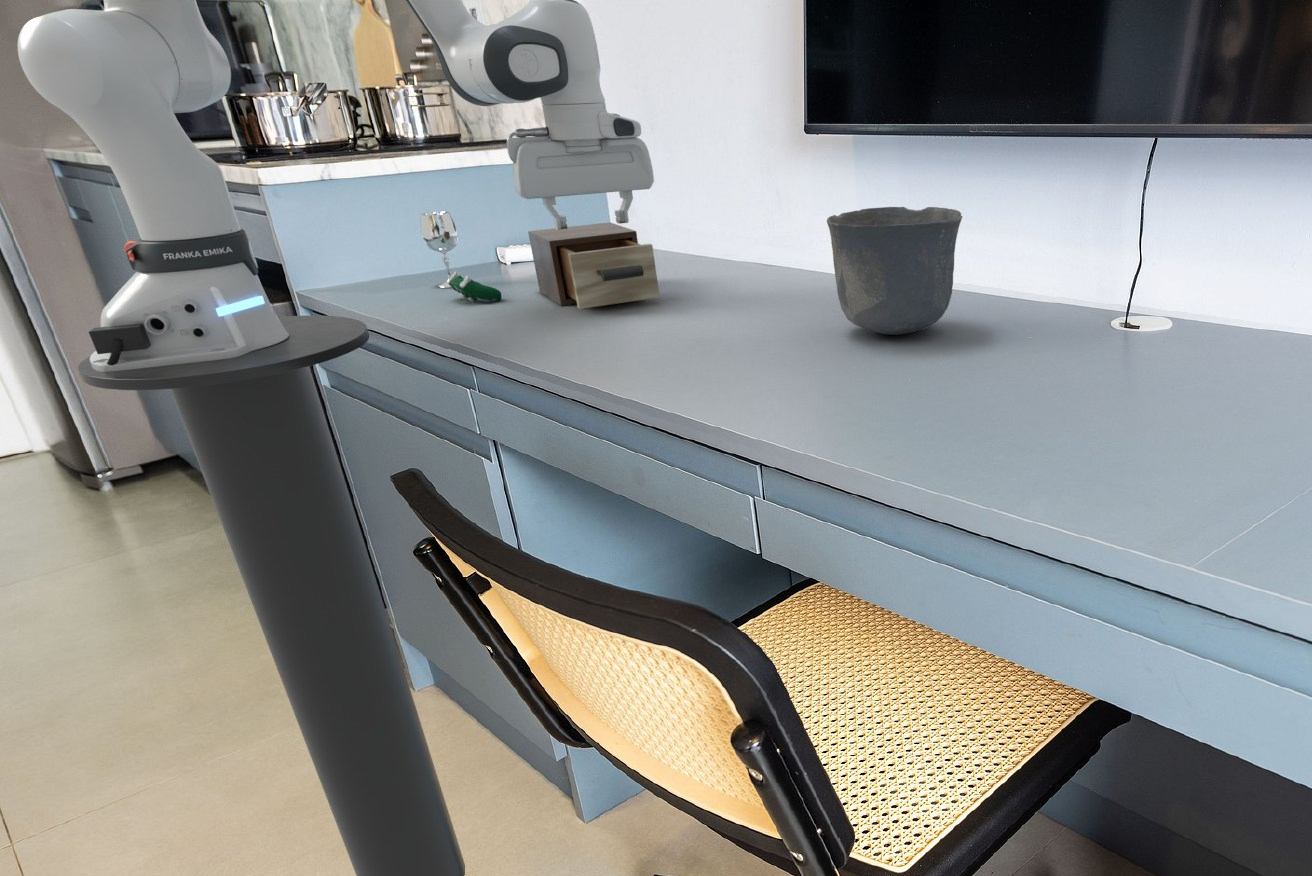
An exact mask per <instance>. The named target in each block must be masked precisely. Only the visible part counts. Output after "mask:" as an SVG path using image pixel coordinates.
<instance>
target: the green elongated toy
mask: <svg viewBox="0 0 1312 876" xmlns="http://www.w3.org/2000/svg"><path fill="white" fill-rule="evenodd" d="M448 282H449V283H448V284H449V285H450V286H451V289H452V290H453V291H456V292H457V293H458V294H461V298H463V299H464V300H466V301H467V300H468V301H470V302H471V303H475V302H477V301H478V300H479V301H486V302H487V301H489V302H500V301H501V300H502V292H501V291H500V290H499V289H497V288H495V287H492V286H489V285H485V284H482V283H480V282H478V281H475V280H473V279H472V278H471V277H470V276H469V275H468V274H467V275H466V276H465V277H462V275H460V274H459V273H458V271H454V273H452V274H451V277H450V279H449V281H448Z"/></svg>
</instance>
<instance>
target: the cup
mask: <svg viewBox="0 0 1312 876" xmlns="http://www.w3.org/2000/svg"><path fill="white" fill-rule="evenodd" d="M962 219H963V215H962V212H961V211H960V210H958V209H953V208H947V207H937V206H927V207H925V208H922V209H910V208H908V207H905V206H885V207H870V208H861V209H859V210H853V211H848V212H847V211H846V212H842V213H840V214H839V215H835V214H833V215H831V216H829V217H827V219H826V223H827V226H828V230H829V235H830V243H831V249H832V250H831V251H832V258H833V269H834V277H835V284H836V290H837V291H836V292H837V298H838V301H839V305H840V309H841V311H842V312H843V314H844V316H845V318H846V320H847V321H849V323H852V325H854V326H856V327H858V328H861V329H863V330H867V331H870V332H874V333H877V334H881V335H892V336H894V335H896V336H897V335H904V334H905V335H906V334H911V333H916V332H919V331H922V330H925V329H927V328H930V327H931V326H933V325H935V324H936V323H937V322H938V321H939V320H940V319H941V318H942V317H943V316H944V314H945V312H947V311H946V310H948V307H949V305H950V301H951V299H952V295H953V287H954V271H955V252H956V244H957V238H958V235H959V234H958V233H959V229H960V225H961V222H962Z"/></svg>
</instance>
